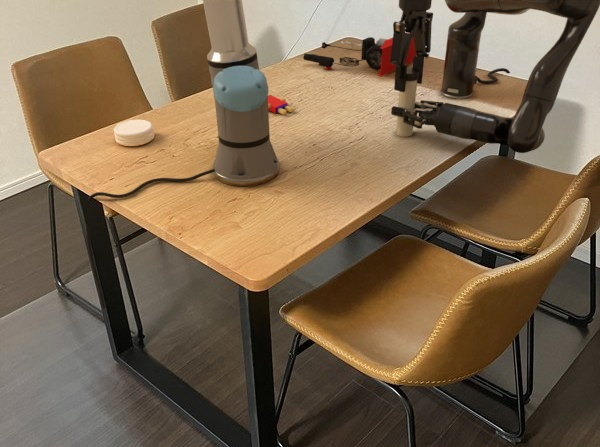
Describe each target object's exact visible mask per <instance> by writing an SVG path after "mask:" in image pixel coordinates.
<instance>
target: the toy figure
mask: <svg viewBox="0 0 600 447" xmlns="http://www.w3.org/2000/svg"><path fill="white" fill-rule="evenodd" d="M268 111H270V112H272V113H273V114H276V113H277V114H282V115H286V114H287V112H289V113H292V112H294V107H292V106H290V105H289V103H288V102H287V101H286V98H278V97H276V96H274V95H272V94H268Z"/></svg>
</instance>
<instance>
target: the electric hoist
mask: <svg viewBox="0 0 600 447" xmlns="http://www.w3.org/2000/svg"><path fill="white" fill-rule="evenodd" d="M408 34H410V33H408ZM375 39H376V38H374V37H373V36H370V37H365V38H364V39H362V40H361V41H362V43H360V42H355V41H351V42H350V41H347V40H343V41H342V40H341V41H340V42H341V44H343V45H350V46H351V47H354V46H358V47H361V49H353V48H346V47H340V46H336V45H332V44H329V43H326V42H325V41H323V42H322V43H321V49H324V50H325V49H326V48H327V47H332V48H338V49H343V50H344V49H345V50H349V51H356V52H361V58H360V59H357V58H354V57H348V56H342V57H339V63H336V62H335V59H334V57H331V56H325V55H319V54H314V53H304V54H303V57H302V58H303V60H304V61H308V62H312V63H316V64H317V63H318V66H319V67H323V68H324V67H325V70H332V67H333V66H334V65H338V66H344V67H350V66H354V67H358V66H360V62H363V61H365V62H366V64H367V65H368V67H369V68H370V69H372V70H375V71H377V72H378V71H379V73H378V74H377V76H378V77H382V76H385V75H387V74H389V73H391V72H394V71H395V65H394V64H390V57H391V49H392V41H393V37H391V38H382V37H381V38H380V37H379V38H378V40H375ZM414 56H417V55H416V53H415V46H414V38H412V40H411V43H410V47H409V51H408V55H407V59H406V62H405V65H406V66H407V65H408V64H410V63H413V57H414ZM401 61H402V60H401Z"/></svg>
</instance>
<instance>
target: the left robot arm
mask: <svg viewBox="0 0 600 447" xmlns="http://www.w3.org/2000/svg"><path fill="white" fill-rule="evenodd" d="M202 3H203V8H204V14H205V20H206V25H207V29H208V33H209V34H208V35H209V42H210V46H211V49H210V51H209V52H208V53H207V55H206V60H207V65H208V70H209V74H210V83H211V87H212V92H213V100H214V106H215V115H216V126H217V135H218V145H217V149H216V153H215V159H214V162H213V165H212V169H209V170H205V171H203V172H200V173H197V174H195V175H193V176H190V177H185V178H184V177H183V178H174V177H173V178H172V177H157V178H152V179H149V180H147V181H144V182H143V183H141V184H140V185H138V186H137V187H136V188H134V189H132V190H131V191H129V192H126V193H123V194H115V193H109V192H104V191H103V192H102V191H98V192H94V193H92V194H91V195H89V196H88V198H87V200H88V201H90V200H93V199H94V198H96V197H98V196H101V197H108V198H113V199H123V198H127V197H130V196H132V195H134V194H136V193H138V191H140V190H142V189H143V188H145V187H147V186H148V185H151V184H153V183H157V182H158V183H159V182H172V183H173V182H174V183H183V182H184V183H185V182H191V181H194V180H197V179H199V178H200V177H204V176H207V175H209V174H213V176H214V177H215V179H217V181H219V182H220V183H223V184H225V185H228V186H229V185H230V186H234V187H251V186H252V187H253V186H257V185H261V184H265V183H267V182H269V181H271V180H273V179H274V178H275V177H276V176H277V175H278V174H279V171H280V166H279V164H280V163H279V160H278V156H277V154H276V151H275V149H274V146H273V144H272V142H271V138H270V136H271V135H270V134H271V133H270V117H269V116H270V113H269V110H268V95H269V91H270V90H269V84H268V80H267V79H268V78H267V77H266V75H265V73H264V72H263V71H262V70H260V66H259V60H258V53H257V48H256V47H255V46H253V45H252V44H251V43H249V37H248V31H247V30H248V29H247V23H246V17H245V10H244V5H243V4H244V3H243V0H202ZM398 8H399V9H400V10H401V11H402V13H401V17H400V20H399V21H394V22H393V24H392V27H393V28H392V29H393V30H392V31H393V33H392V34H393V35H392V38H393V41H392V49H391V57H390V64H394V65H395V70H394V86H393V87H394V88H393V90H394V91H398V92H399V91H400V92H405V85H406V73H407V67H408V65H407V64H406V65H405V62H406V59H407V55H408V51H409V47H410V43H411V40H412V38H414V46H415V53H416V55H417V56H414V57H413V61H412V67H411V68H416V69H418V70H419V72H420V73H419V78H418V79H417V85H421V84H423V76H424V67H425V66H424V65H425V58H426V59H428V58H429V57H430V52H431V49H432V46H431V45H432V27H433V26H432V25H433V24H432V22H433V18H434V13H433V12H430V11H429V10H431V8H432V0H398ZM408 33H410V34H408ZM401 60H402V61H401ZM85 224H86V225H85V232H86V243H87V249H88V255H89V259H90V264H91V267H92V272H93V275H94V279H95V282H96V286H97V290H98V294H99V298H100V303H101V308H102V309H106V304H105V298H104V294H103V289H102V286H101V282H100V279H99V274H98V272H97V268H96V262H95V258H94V254H93V249H92V242H91V229H90V225H89V224H87V223H85Z"/></svg>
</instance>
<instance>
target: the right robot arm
mask: <svg viewBox="0 0 600 447" xmlns="http://www.w3.org/2000/svg"><path fill="white" fill-rule="evenodd" d="M444 2H445V5H446V7H447V8H448V9H449V11H451V12H453V13H455V14H463V13H464V14H463V16H461V17H460V18H459V19H458V20H456V21H454V22H452V23H451V24H449V26H448V29H447V36H446V37H447V39H446V45H445V47H446V48H445V54H444V55H445V56H444V65H443V74H442V82H441V89H440V95H442V96H444V97H446V98H449V99H455V100H464V99H465V100H466V99H469V98H471V97H473V95H474V87H475V85H477V83H479V84H484V85H490V84H491V85H492V84H496V83H497V82H498V80H499V79H498V77H496V76H495V75H494V74H496V73H499V72H505V73H506V74H510V73H511V71H510V70H509V69H508V68H505V67H500V68H495V69H493V70H491V71H489V72H488V73H487V77H488V78H489V79H490V80H485V79H484V80H483V79H481V78H480V77H478V76H477V75H476V72H477V67H478V66H477V65H478V59H479V58H478V57H479V52H480V45H481V44H480V43H481V37H482V32H483V31H484V28H485V24H486V21H487V20H486V19H487V15H488V13H489V14H490V13H491V14H498V15H510V16H516V15H517V16H519V15H523V14H525V13H527V12H529V11H530V10H535V11H540V12H544V13H548V14H550V15H553V16H558V17H561V18H565V19H566V22H565V25H564V27H563V30H562V32H561V34H560V36H559V37H558V39H557V40H556V41H555V43H554V44H553V45H552V46H551V47H550V49H549V50H548V51H547V52H546V53H544V55H543V56H542V57H541V58H540V59H539V60H538V61H537V63H536V64H535V66H534V67H533V69H532V70H531V72H530V74H529V76H528V79H527V83H526V86H525V89H524V92H523V94H522V98H521V102H520V104H519V106H518V108H517V110H516V112H515V114H514V116H513V117H505V116H501V115H497V114H495V113H491V112H486V111H482V110H481V111H480V110H477V109H476V108H472V107H468V106H465V105H464V106H463V105H457V104H454V103H450V102H443V101H434V100H424V99H421V100H419V101H415V109H414V110H411V109H405V108H401V107H398V106H396V105H394V106H392V107H391V112H390V114H391V115H392V116H395V117H397V116H399V117H403V122H404V123H406V124H409V125H411V126H413V128H416V129H417V130H420V129H422V128H423V126H433V127H434V128H435V130H436V132H437V133H438V134H443V135H446V136H451V137H455V138H459V139H464V140H471V141H476V142H480V143H485V144H492V145H493V144H494V145H495V144H497V145H502V146H507V147H509V149H511V150H512V151H513V152H515V153H519V154H526V153H530V152H533V151H535V150H537V149H539V147H541V146H542V144H543V143H544V141H545V130H544V128H543V126H544V123H545V121H546V118H547V116H548V115H549V114H550V113H551V111H552V110H553V107H554V105H555V103H556V100H557V97H558V95H559V92H560V89H561V86H562V83H563V80H564V78H565V75H566V73H567V71H568V68H569V67H570V65H571V62H572V60H573V58H574V57H575V55H576V52H578V50H579V47H580V45H581V44H582V42H583V40H584V38H585V36H586V34H587V32H588V30H589V29H590V26H591V25H592V23H593V21H594V20H595V17H596V15H597V13H598V11H599V8H600V0H444ZM411 113H413V114H414V115H413V114H411Z"/></svg>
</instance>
